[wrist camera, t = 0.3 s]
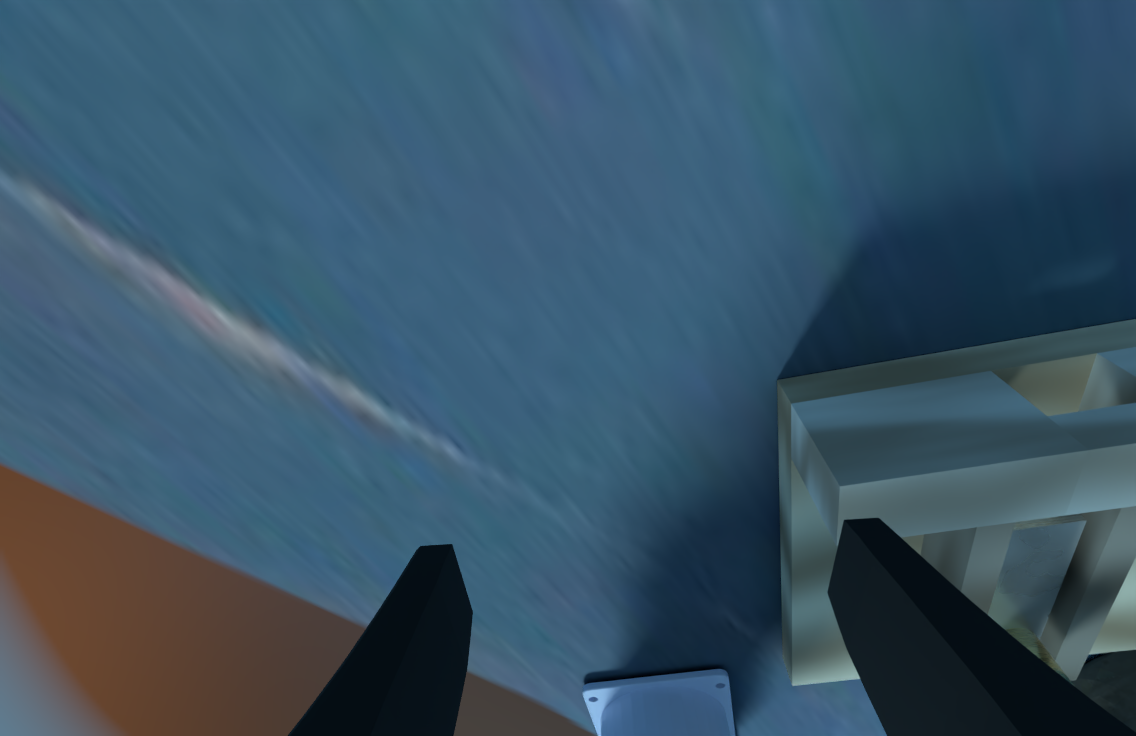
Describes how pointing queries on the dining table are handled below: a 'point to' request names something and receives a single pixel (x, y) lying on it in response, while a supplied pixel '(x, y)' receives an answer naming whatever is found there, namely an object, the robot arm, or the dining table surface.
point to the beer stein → (1112, 684)
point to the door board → (815, 544)
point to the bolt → (1035, 579)
